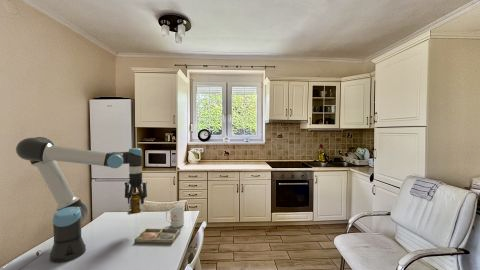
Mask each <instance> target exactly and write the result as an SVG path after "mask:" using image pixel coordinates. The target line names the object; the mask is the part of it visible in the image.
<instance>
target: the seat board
mask: <svg viewBox="0 0 480 270" xmlns="http://www.w3.org/2000/svg"><path fill="white" fill-rule="evenodd" d="M180 233H181V228H145V229H144V230H143V231H142V232H141V233H139V235H137V236H136V237H135V238H134V244H146V245H147V244H148V245H149V244H150V245H151V244H154V245H172V244H173V243H174V242H175V240H176V239H177V238H178V237H179V235H180Z"/></svg>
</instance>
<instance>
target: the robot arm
mask: <svg viewBox="0 0 480 270" xmlns="http://www.w3.org/2000/svg"><path fill="white" fill-rule="evenodd" d="M15 152H16V154H17V156H18V158H20V159H22V160H25V161H29V162H30V164H31V165H32V166H33V167H37V169H38V171H39V172H40V174H41V176H42V178H43V180H44V182H45V184H46V185H47V188H48V189H49V191H50V193H51V195H52V197H53V198H54V200H55V203H57V207H56V210H55V211H56V212H54V214H53V217H52V224H53V225H52V228H53V229H52V230H53V231H52V232H53V245H52V248H51V251H50V254H49V261H50V262H52V263H64V262H65V263H66V262H68V261H72V260H75V259H77V258H79V257H81V256H82V255H83V254H85V253H86V250H87V248H86V247H87V246H86V244H85V242H84V240H83V237H82V223H83V222H84V220H85V219H86V217H87V216H88V213H89V209H88V207H87V205H86V203H84V202H82V200H81V198H80V197H77V196H75V194H74V191H73V190H72V188H71V186H70V183H69V181H68V180H67V179H66V176H65V175H64V173H63V171H62V169H61V167H60V165H59V163H58V162H63V163H65V162H66V163H73V164H74V163H75V164H80V165H81V164H83V165H90V166H91V165H93V166H100V167H108V168H111V169H118V168H120V167H122V166H123V165H126V164H127V165H128V172H129V175H128V179H129V180H128V181H125V182H124V186H125V187H124V198H125V199H127V204H128V209H129V210H131V198H132V193H134V189H135V188H136V189H137V192H139V195H140V198H141V199H139V208H140V210H143V208H144V205H143V204H144V203H145V199H146V198H148V191H147V183H148V182H147V181H144V180H143V150H142V148H140V147H136V148H135V147H133V148H132V147H131V148H129V149H128V151H112V152H111V151H110V152H103V151H96V150H88V149H82V148H74V147H67V146H60V145H59V146H58V145H56V144H55V142H53V140H51V139H50V138H48V137H44V136H36V137H26V138H23V139H22V140H20V141H19V142H18V143H17V145H16V147H15Z"/></svg>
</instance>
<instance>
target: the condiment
mask: <svg viewBox="0 0 480 270" xmlns="http://www.w3.org/2000/svg"><path fill="white" fill-rule="evenodd" d="M139 199H141V198H140V195H139V192H138V191H137V192H133V193H132V196H131V209H130V210H127V211H126V213H127V215H128V216H131V215H136V214H141V213H143V209H141V210H140V208H139Z"/></svg>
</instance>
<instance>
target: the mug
mask: <svg viewBox="0 0 480 270" xmlns="http://www.w3.org/2000/svg"><path fill="white" fill-rule="evenodd" d="M184 210H185V208H183V207H182V206H177V207H176V206H175V207H172V208H171V209H170V210H167V211H165V220H166V221H167V222H168V223H169V224H170V226H171V227H172V228H173V229H179V228H181V227H182V226H183V225H184V224H185V211H184ZM168 213H169V217H170V220H169V219H168Z"/></svg>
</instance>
